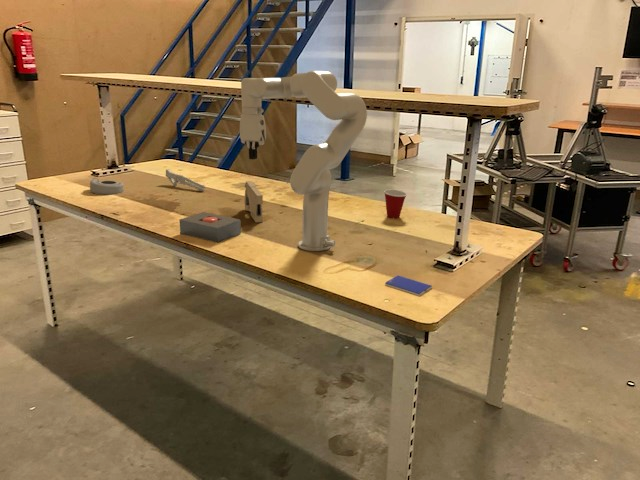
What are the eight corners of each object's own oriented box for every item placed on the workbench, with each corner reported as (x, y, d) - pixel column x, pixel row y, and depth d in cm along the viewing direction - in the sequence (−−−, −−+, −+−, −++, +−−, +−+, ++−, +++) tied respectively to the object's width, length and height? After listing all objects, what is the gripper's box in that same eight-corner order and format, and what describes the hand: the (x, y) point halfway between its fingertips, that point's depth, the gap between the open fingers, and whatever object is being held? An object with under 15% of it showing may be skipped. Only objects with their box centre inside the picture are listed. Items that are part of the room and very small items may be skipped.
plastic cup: (403, 221, 235) (405, 195, 231) (380, 218, 238) (381, 193, 234) (406, 215, 245) (409, 190, 241) (384, 212, 248) (386, 188, 244)
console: (240, 233, 211) (240, 219, 210) (217, 242, 200) (217, 228, 198) (204, 225, 221) (203, 211, 219) (180, 233, 209) (179, 219, 208)
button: (220, 225, 210) (220, 218, 210) (210, 229, 206) (210, 222, 205) (209, 223, 213) (209, 216, 212) (199, 226, 208) (199, 219, 207)
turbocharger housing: (120, 197, 269) (126, 190, 283) (120, 185, 267) (125, 178, 281) (85, 195, 266) (93, 188, 280) (85, 182, 264) (92, 176, 278)
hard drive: (385, 282, 165) (419, 293, 158) (398, 274, 171) (432, 285, 164) (384, 286, 166) (419, 297, 158) (398, 279, 172) (431, 289, 164)
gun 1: (167, 181, 295) (168, 168, 292) (204, 198, 281) (206, 185, 278) (164, 182, 293) (165, 169, 290) (202, 199, 280) (203, 185, 277)
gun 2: (243, 208, 248) (243, 178, 242) (250, 208, 249) (250, 178, 243) (255, 227, 227) (256, 195, 221) (263, 227, 228) (263, 194, 222)
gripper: (273, 111, 199) (274, 159, 205) (242, 110, 206) (244, 155, 212) (261, 113, 193) (262, 161, 198) (230, 111, 200) (232, 158, 205)
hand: (253, 158), depth 205 cm, fingers closed
